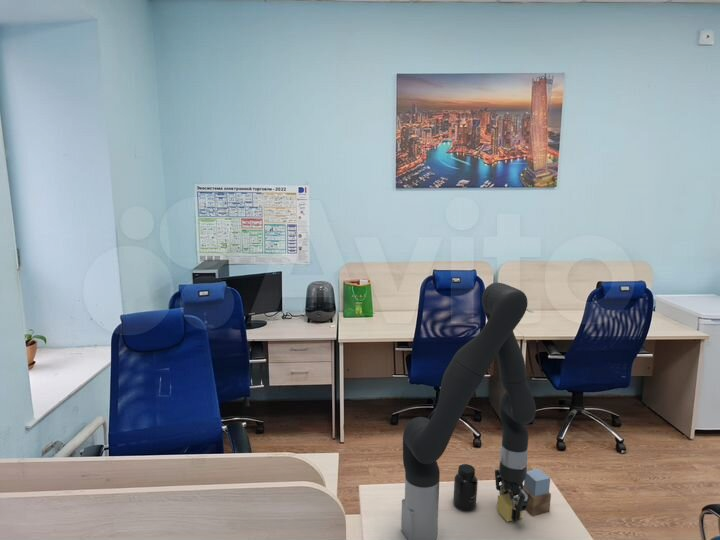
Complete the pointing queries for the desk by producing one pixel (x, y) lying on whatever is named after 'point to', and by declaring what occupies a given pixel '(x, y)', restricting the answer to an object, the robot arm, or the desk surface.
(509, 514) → the top block
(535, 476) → the tower mid
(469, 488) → the supplement bottle
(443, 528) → the desk surface
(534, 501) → the tower base
